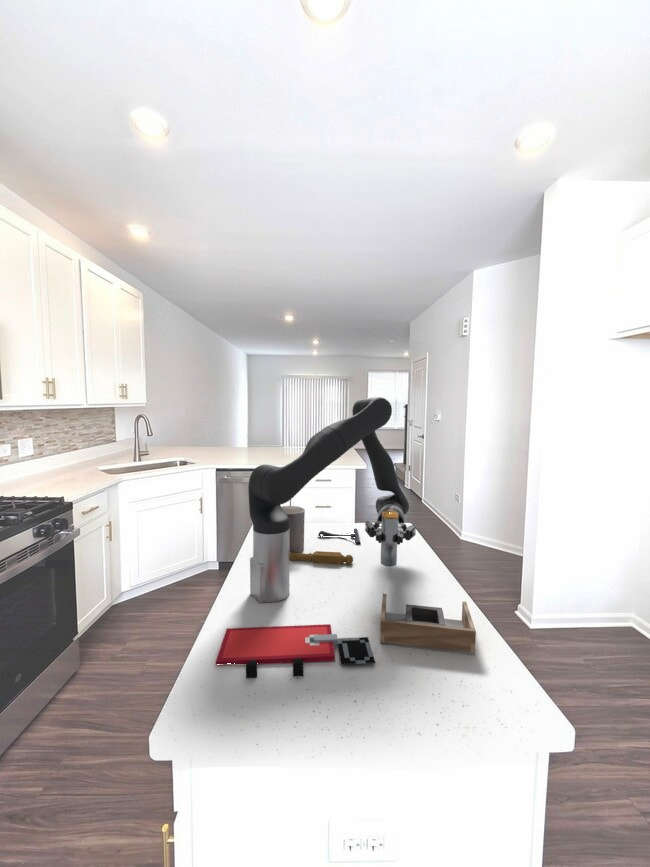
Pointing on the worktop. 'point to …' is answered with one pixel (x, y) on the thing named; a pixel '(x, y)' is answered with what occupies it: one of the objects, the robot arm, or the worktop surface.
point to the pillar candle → (296, 527)
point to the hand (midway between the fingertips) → (389, 539)
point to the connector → (389, 538)
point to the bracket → (343, 535)
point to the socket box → (428, 629)
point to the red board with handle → (290, 647)
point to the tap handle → (322, 558)
